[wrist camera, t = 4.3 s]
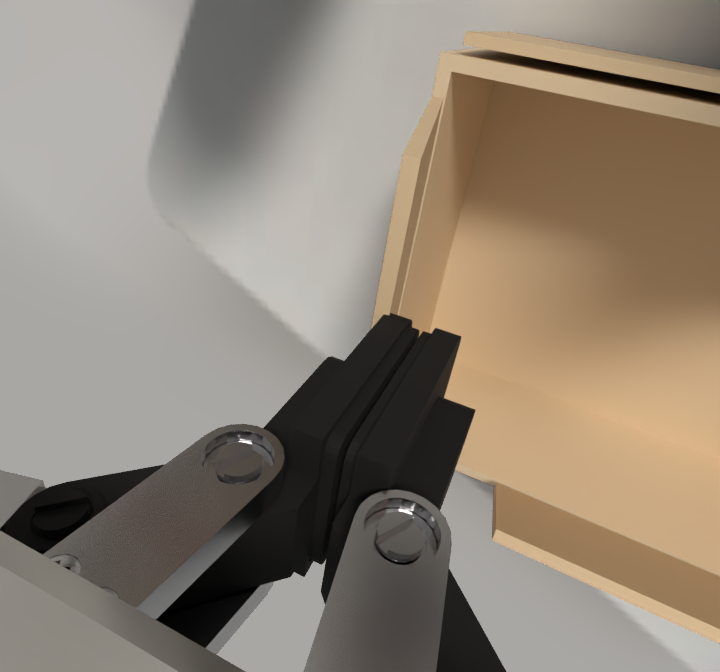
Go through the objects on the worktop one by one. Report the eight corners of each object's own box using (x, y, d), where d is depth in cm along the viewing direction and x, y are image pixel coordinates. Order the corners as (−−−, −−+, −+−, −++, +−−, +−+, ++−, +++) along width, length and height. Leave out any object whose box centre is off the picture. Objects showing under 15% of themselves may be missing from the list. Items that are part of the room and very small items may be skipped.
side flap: (799, 610, 17) (988, 749, 10) (796, 619, 17) (982, 763, 10) (496, 482, 19) (496, 529, 13) (493, 489, 19) (491, 540, 13)
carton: (1170, 150, 14) (1527, 226, 8) (825, 499, 22) (892, 655, 16) (498, 29, 19) (445, 27, 13) (418, 349, 27) (364, 431, 21)
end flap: (443, 98, 14) (420, 158, 8) (386, 366, 19) (349, 514, 13) (432, 96, 14) (402, 155, 8) (378, 364, 19) (337, 511, 13)
